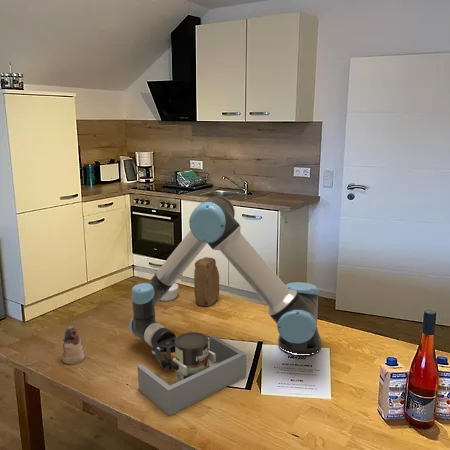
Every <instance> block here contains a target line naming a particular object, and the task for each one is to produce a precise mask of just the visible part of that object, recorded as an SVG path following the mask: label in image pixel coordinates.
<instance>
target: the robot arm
mask: <svg viewBox="0 0 450 450" xmlns="http://www.w3.org/2000/svg"><path fill="white" fill-rule="evenodd" d="M235 214H236V213H235V207H234V205H233V203H232V202H231V200H229V199H228V198H227V197H224V196H221V195H214V196H210V197H208V198H207V199H205V200H204V201H202V202H201V203H199V204H198V205H197V206H196V207H195V208H193V210H192V212H191V213H190V216H189V220H188V221H189V222H188V224H189V229H190V230H189V231H188V233H187V234H186V235H185V236H184V238H183V239H181V242H180V243H179V244H178V245H177V247H175V249H174V250H173V251H172V253H171V254H170V255H169V256H168V257H167V259H166V260H165V262H163V264H162V265H161V266H160V267H159V269H158V270H157V271H156V272H155V273H154V275H153V276H152V278H151V279H150V280H149V281H148V282H141V283H138V284H136V285H134V286H133V287H132V288H131V301H132V302H131V303H132V314H133V315H132V316H131V318H130V320H129V323H128V328H129V331H130V332H131V333H132V334H133V335H134V336H135V337H137V338H138V339H140V340H142V341H143V342H144V343H146V344H148V345H149V346H151V356H152V357H154V358H155V359H156V360H157V362H158V364H159V365H160V367H161V369H163V370H164V369H166V368H167V369H168V370H173V371H176V370H178V371H179V372H181V373H182V374H183V375H185V376H187V375H188V373H187V366H185V365H184V364H182V363H181V362H179V361H178V360H177V359H176V357H174V358H172V354H173V353H176V352H175V338H176V337H177V336H176V334H175V333H174V332H173V331H172V330H170V329H168V328H167V327H165V326H163V325H162V324H161V323H159V322H157V321H156V307H155V306H156V305H157V304H158V303H159V301H161V300H160V299H161V298H162V297H163V296H164V295H165V294H166V293H167V292H168V291H169V289H170V288H171V286H172V285H173V284H174V283H176V281H178V279H179V278H180V277H181V276H182V274H183V273H184V272H185V271H186V270H187V268H189V266H190V265H191V264H192V263H193V261H194V260H195V259H196V258H197V257H198V255H199V254H200V253H201V252H202V251H203V249H204V248H205V247H206V246H207V245H208V246H209V247H210V248H211V249H212V251H213V250H214V251H220V252H221V253H222V255H223V256H224V257H225V258H226V259H227V261H228V262H229V263H230V264H231V265H232V267H234V269H236V271H237V273H239V275H240V276H241V277H242V278H243V279H244V281H245V282H247V284H248V285H249V286H250V287H251V289H253V291H254V292H255V293H256V294H257V295H258V296H259V297H260V299H261V300H262V302H264V303H265V305H266V306H267V307H268V316H269V317H271V319H272V320H273V321H274V322H275V323H276V325H277V327H276V329H277V333H278V334H279V335H278V339H277V345H279V346H280V347H281V348H282V349H284V350H286V351H289V352H292V353H297V354H312V353H316V352H317V351H319V350H320V351H321V349H322V339H321V336H320V332H319V328H318V311H319V310H318V309H319V307H318V305H319V304H318V303H319V295H320V294H319V288H318V286H316V285H315V284H312V283H309V282H302V281H301V282H300V281H295V282H289V283H286V284H285V283H284V282H283V280H281V278H280V277H279V275H277V274H276V272H275V271H274V270H273V269H272V268H271V267H270V265H269V264H268V263H267V262H266V261H265V260H264V258H263V257H262V256H261V255H260V254H259V253H258V252H257V250H256V249H255V248H254V247H253V246H252V244H251V243H250V242H249V241H248V240H247V238H245V237H244V235H243V234H242V233H241V225H240V223H239V222H238V221H237V219H235ZM279 346H278V347H279ZM208 350H209V362H212V363H213V364H214V363H215V364H216V363H217V362H216V354H215V353H213V352H211V350H210V349H209V348H208ZM320 351H319V352H320ZM164 353H166V359H165V356H164V355H163V354H164ZM317 353H318V352H317ZM317 353H316V354H317Z"/></svg>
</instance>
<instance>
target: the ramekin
mask: <svg viewBox="0 0 450 450" xmlns="http://www.w3.org/2000/svg"><path fill="white" fill-rule="evenodd" d="M178 291H179V284H177V283H176V282H175V283H174V284H173V285H172V286H171V288H170V289H169V291H168V292H167V293H166V294H165V295H164V296H163V297H162V298H161V299H160V300H159V301H161V302H167V301H168V302H169V301H172V300H175V299H176V298H177V297H178Z"/></svg>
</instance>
